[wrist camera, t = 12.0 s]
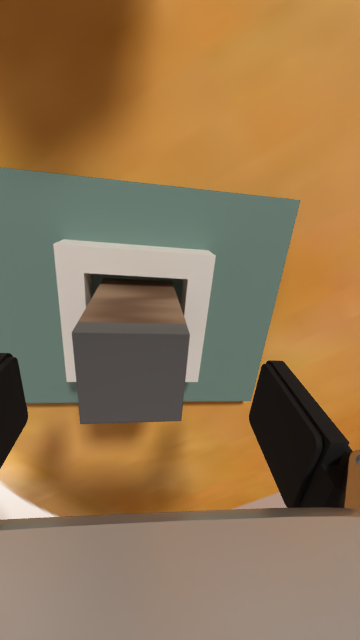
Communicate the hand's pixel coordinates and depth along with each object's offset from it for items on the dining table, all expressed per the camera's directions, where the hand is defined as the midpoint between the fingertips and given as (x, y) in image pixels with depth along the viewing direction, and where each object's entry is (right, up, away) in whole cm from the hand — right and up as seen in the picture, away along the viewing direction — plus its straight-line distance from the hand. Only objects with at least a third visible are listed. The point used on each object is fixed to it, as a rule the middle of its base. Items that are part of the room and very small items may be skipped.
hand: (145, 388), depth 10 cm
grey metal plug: (-2, +3, +8) cm, 9 cm away
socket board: (-2, +4, +9) cm, 10 cm away
